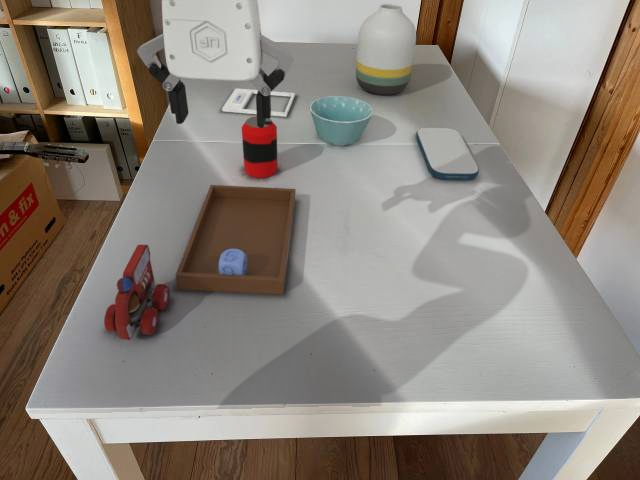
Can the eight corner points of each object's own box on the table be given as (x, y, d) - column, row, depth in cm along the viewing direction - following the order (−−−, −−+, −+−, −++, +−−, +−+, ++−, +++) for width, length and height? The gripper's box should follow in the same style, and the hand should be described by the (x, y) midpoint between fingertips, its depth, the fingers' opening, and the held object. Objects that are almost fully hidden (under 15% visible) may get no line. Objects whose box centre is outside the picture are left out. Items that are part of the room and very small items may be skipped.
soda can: (272, 181, 110) (271, 131, 103) (239, 176, 112) (236, 127, 104) (281, 164, 116) (280, 116, 109) (250, 160, 117) (247, 112, 110)
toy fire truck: (102, 346, 73) (83, 295, 67) (133, 287, 83) (120, 239, 76) (148, 350, 73) (134, 300, 66) (174, 291, 82) (164, 242, 76)
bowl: (366, 125, 134) (369, 96, 129) (373, 153, 122) (376, 122, 117) (308, 124, 134) (309, 94, 129) (309, 152, 121) (310, 120, 116)
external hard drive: (413, 134, 131) (414, 127, 130) (456, 134, 132) (457, 128, 131) (431, 181, 113) (432, 173, 112) (480, 181, 113) (483, 174, 112)
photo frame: (235, 87, 148) (294, 92, 147) (235, 91, 149) (294, 96, 148) (222, 107, 137) (286, 113, 136) (222, 111, 138) (286, 116, 136)
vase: (355, 77, 162) (361, -3, 147) (407, 80, 161) (419, 0, 146) (353, 97, 149) (359, 12, 134) (409, 101, 148) (422, 16, 133)
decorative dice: (248, 266, 87) (246, 249, 84) (243, 282, 84) (241, 264, 81) (225, 264, 87) (223, 247, 84) (219, 280, 84) (217, 262, 81)
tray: (283, 294, 83) (283, 280, 81) (178, 289, 83) (175, 275, 81) (295, 202, 104) (295, 188, 102) (212, 198, 104) (210, 184, 102)
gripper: (107, -36, 47) (141, 131, 57) (291, -27, 47) (291, 138, 57) (133, -49, 53) (160, 105, 63) (296, -41, 52) (295, 111, 63)
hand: (222, 121), depth 60 cm, fingers open, 9 cm apart
